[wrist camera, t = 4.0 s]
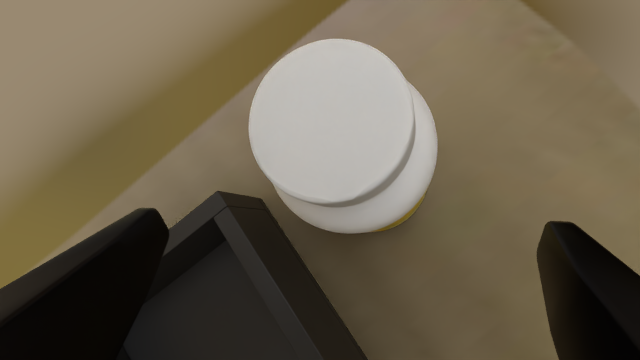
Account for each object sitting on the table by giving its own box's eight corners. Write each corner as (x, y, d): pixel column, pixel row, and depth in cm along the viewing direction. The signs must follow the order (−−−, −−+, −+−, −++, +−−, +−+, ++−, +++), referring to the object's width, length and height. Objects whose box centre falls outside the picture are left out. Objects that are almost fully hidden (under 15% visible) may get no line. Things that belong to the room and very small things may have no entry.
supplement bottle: (427, 120, 17) (450, -5, 8) (428, 233, 17) (454, 245, 7) (319, 125, 19) (227, 22, 9) (316, 229, 18) (213, 235, 8)
